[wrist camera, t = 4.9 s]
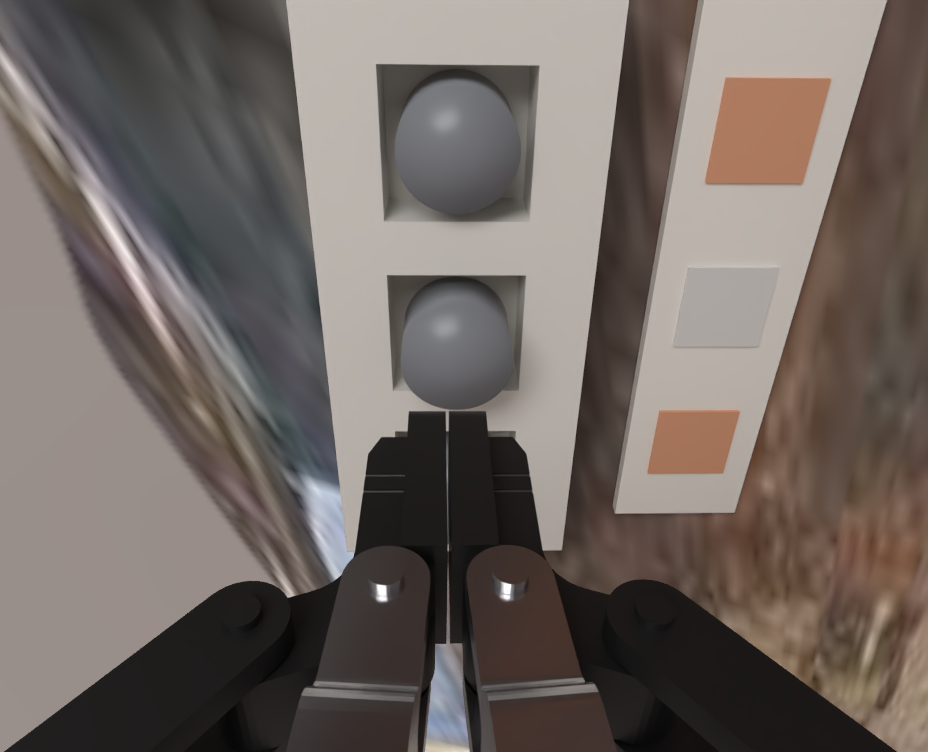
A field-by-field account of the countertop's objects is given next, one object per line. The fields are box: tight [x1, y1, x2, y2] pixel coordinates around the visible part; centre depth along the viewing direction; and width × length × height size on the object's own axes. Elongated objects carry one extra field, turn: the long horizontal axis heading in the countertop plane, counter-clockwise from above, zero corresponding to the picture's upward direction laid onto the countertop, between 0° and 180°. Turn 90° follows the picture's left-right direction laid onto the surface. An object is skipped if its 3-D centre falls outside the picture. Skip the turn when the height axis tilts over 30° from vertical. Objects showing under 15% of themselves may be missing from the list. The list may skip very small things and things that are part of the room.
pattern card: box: [613, 0, 887, 514], centre depth 29 cm, size 6×23×1 cm, turn 179°
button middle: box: [400, 276, 513, 410], centre depth 26 cm, size 4×4×3 cm
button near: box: [394, 69, 521, 214], centre depth 24 cm, size 4×4×3 cm
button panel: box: [286, 0, 629, 552], centre depth 28 cm, size 10×23×3 cm, turn 179°
